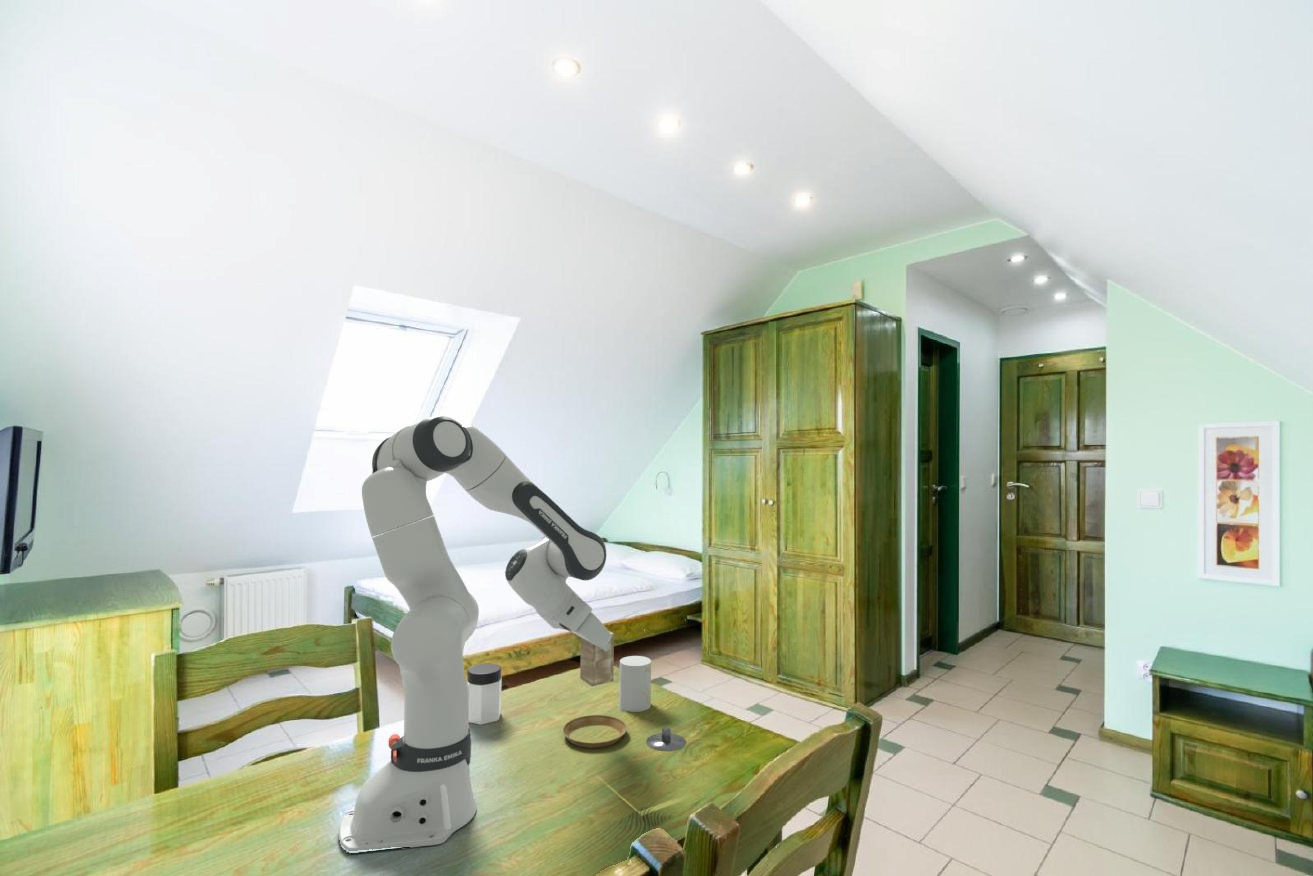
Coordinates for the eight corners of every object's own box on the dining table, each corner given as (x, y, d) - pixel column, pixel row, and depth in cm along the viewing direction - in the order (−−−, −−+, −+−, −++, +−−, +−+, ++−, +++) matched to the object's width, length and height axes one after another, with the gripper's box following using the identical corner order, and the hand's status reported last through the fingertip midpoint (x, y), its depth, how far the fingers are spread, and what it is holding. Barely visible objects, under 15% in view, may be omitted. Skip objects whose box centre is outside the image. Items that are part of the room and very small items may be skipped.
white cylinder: (650, 714, 158) (650, 666, 158) (618, 714, 158) (618, 665, 158) (651, 701, 166) (651, 656, 166) (620, 701, 166) (620, 655, 167)
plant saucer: (624, 755, 137) (625, 743, 137) (557, 754, 137) (557, 741, 137) (628, 726, 152) (628, 715, 152) (567, 725, 152) (567, 714, 152)
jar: (494, 708, 161) (495, 660, 161) (507, 718, 154) (508, 669, 155) (459, 716, 155) (460, 667, 156) (471, 728, 149) (473, 676, 149)
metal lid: (661, 757, 135) (661, 741, 135) (638, 741, 143) (638, 726, 143) (694, 747, 140) (694, 731, 140) (670, 732, 148) (670, 717, 148)
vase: (592, 686, 141) (592, 637, 141) (580, 678, 146) (580, 631, 146) (617, 680, 145) (617, 632, 145) (604, 673, 150) (605, 626, 150)
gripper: (533, 608, 147) (570, 643, 153) (573, 630, 131) (613, 668, 136) (551, 587, 150) (586, 621, 155) (592, 606, 133) (630, 644, 139)
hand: (599, 644), depth 146 cm, fingers closed on vase, 6 cm apart
